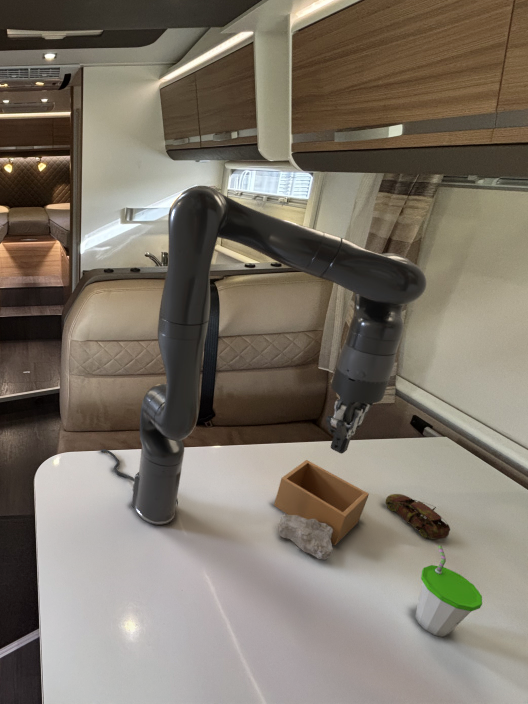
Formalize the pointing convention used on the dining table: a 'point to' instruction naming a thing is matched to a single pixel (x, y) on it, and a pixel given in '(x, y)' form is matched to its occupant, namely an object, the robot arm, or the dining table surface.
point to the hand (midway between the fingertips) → (338, 449)
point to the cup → (445, 599)
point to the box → (321, 498)
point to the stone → (307, 535)
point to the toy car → (419, 516)
